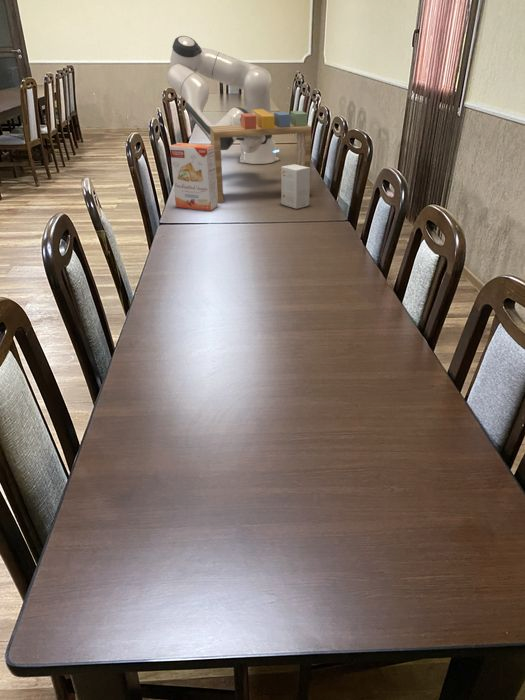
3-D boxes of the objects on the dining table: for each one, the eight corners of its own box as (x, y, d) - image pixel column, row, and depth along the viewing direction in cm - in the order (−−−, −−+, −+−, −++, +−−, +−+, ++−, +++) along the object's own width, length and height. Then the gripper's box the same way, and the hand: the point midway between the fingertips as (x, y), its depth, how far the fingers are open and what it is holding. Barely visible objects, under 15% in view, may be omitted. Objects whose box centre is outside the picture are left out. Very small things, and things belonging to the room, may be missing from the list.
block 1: (241, 125, 191) (240, 113, 189) (252, 125, 191) (251, 113, 189) (245, 129, 184) (244, 116, 182) (256, 128, 185) (256, 116, 183)
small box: (309, 205, 188) (310, 167, 181) (296, 209, 184) (296, 170, 178) (294, 201, 193) (294, 163, 186) (280, 204, 190) (280, 166, 183)
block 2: (274, 124, 193) (274, 112, 191) (285, 123, 193) (285, 111, 191) (279, 127, 186) (279, 114, 184) (290, 126, 187) (290, 114, 185)
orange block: (252, 121, 200) (252, 109, 198) (263, 120, 201) (262, 109, 199) (263, 129, 183) (262, 116, 181) (274, 128, 184) (274, 115, 182)
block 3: (290, 123, 194) (290, 111, 192) (301, 122, 194) (301, 110, 192) (295, 126, 187) (296, 114, 185) (307, 126, 188) (307, 113, 186)
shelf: (214, 194, 203) (209, 126, 191) (301, 188, 208) (302, 121, 196) (218, 202, 193) (213, 131, 181) (309, 196, 198) (311, 126, 186)
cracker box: (175, 208, 188) (168, 145, 177) (183, 203, 193) (177, 142, 182) (210, 211, 184) (206, 147, 173) (218, 207, 188) (214, 144, 178)
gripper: (281, 136, 211) (288, 122, 198) (229, 139, 208) (233, 125, 195) (279, 120, 211) (286, 105, 198) (227, 123, 208) (231, 107, 194)
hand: (259, 115), depth 196 cm, fingers closed on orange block, 4 cm apart
